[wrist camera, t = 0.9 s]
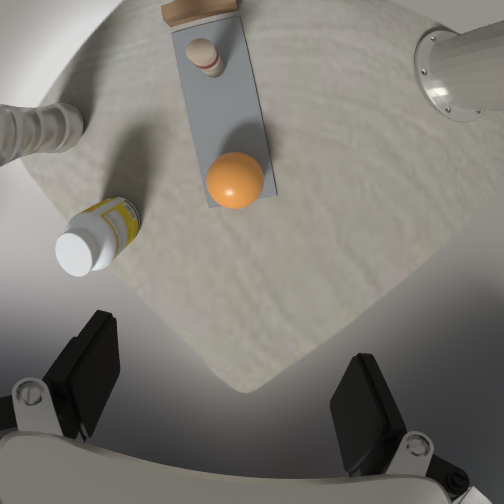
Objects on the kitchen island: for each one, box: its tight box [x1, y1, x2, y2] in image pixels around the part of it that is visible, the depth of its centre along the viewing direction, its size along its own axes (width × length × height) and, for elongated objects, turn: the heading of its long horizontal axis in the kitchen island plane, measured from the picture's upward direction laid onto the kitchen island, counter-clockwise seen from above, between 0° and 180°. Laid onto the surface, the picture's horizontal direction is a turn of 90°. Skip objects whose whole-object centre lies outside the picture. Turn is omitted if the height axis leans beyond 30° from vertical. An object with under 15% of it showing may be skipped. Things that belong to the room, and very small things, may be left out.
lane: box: [172, 17, 277, 208], centre depth 31 cm, size 8×22×1 cm, turn 11°
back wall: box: [161, 0, 238, 27], centre depth 25 cm, size 8×2×3 cm, turn 101°
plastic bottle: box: [0, 103, 83, 167], centre depth 22 cm, size 6×7×20 cm
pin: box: [186, 38, 225, 78], centre depth 25 cm, size 2×2×8 cm
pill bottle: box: [55, 197, 140, 276], centre depth 31 cm, size 6×6×12 cm
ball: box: [206, 152, 264, 209], centre depth 31 cm, size 6×6×6 cm
